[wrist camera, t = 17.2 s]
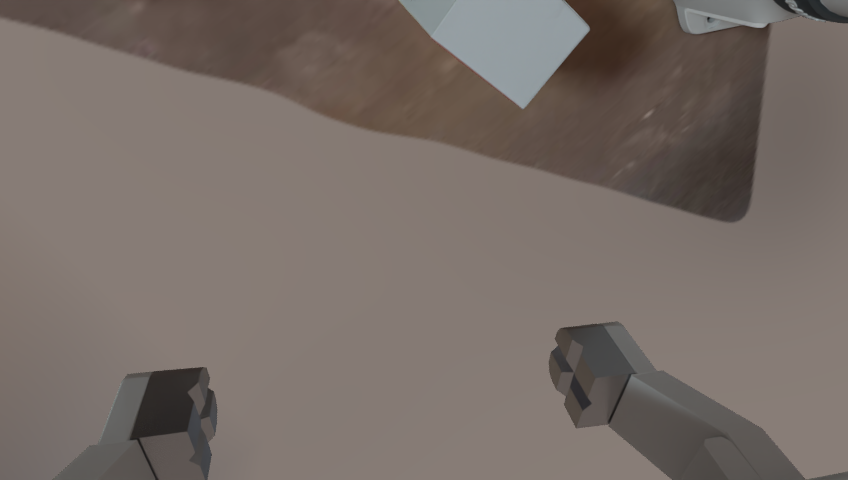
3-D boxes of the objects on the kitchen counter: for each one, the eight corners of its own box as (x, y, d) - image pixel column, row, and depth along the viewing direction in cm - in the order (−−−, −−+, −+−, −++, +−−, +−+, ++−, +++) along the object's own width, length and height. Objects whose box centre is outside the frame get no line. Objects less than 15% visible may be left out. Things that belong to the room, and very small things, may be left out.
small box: (394, -2, 38) (427, 37, 28) (443, -80, 36) (499, -69, 26) (470, 58, 42) (524, 112, 32) (519, -8, 40) (595, 26, 29)
